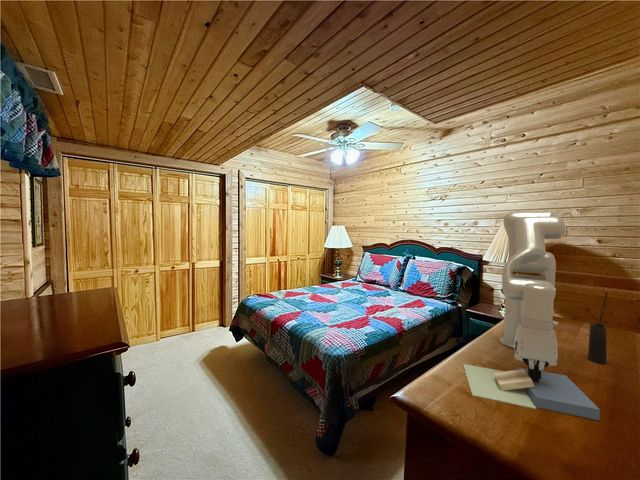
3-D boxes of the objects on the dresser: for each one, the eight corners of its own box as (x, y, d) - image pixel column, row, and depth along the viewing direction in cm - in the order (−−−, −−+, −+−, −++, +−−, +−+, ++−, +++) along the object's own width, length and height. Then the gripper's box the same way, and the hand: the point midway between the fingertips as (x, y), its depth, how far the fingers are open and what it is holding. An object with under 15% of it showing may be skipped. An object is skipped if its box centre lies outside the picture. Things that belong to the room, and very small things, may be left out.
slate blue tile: (515, 375, 92) (515, 366, 92) (565, 384, 87) (565, 375, 87) (535, 407, 76) (536, 397, 75) (599, 420, 71) (600, 409, 70)
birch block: (495, 378, 89) (493, 373, 90) (526, 374, 86) (523, 368, 86) (501, 390, 83) (499, 384, 83) (534, 386, 80) (532, 380, 80)
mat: (462, 364, 99) (462, 364, 99) (513, 373, 93) (513, 372, 93) (472, 395, 81) (472, 394, 81) (536, 409, 75) (536, 408, 75)
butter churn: (571, 356, 107) (574, 288, 106) (586, 353, 110) (589, 287, 109) (600, 367, 98) (604, 293, 97) (616, 363, 101) (620, 292, 100)
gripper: (560, 322, 83) (557, 378, 84) (504, 316, 88) (502, 369, 89) (573, 331, 76) (570, 392, 77) (512, 323, 81) (509, 381, 82)
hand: (534, 379), depth 83 cm, fingers closed
